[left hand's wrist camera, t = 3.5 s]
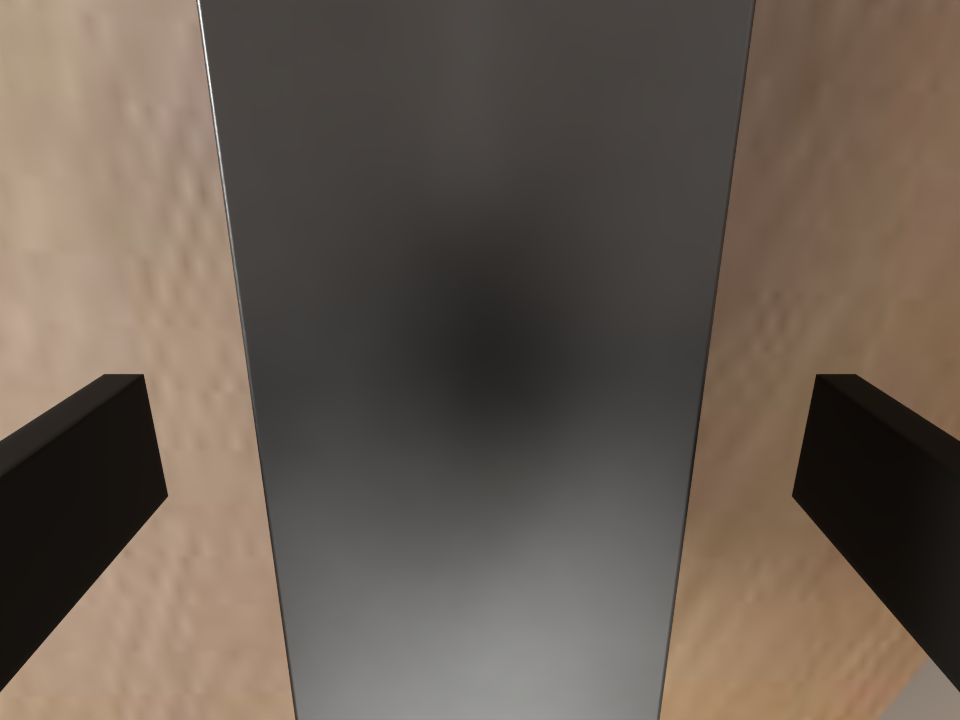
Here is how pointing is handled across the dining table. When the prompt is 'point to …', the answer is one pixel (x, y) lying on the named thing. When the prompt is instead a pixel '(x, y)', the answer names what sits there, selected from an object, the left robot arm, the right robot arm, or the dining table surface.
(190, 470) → the dining table surface
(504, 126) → the bar
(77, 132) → the dining table surface
